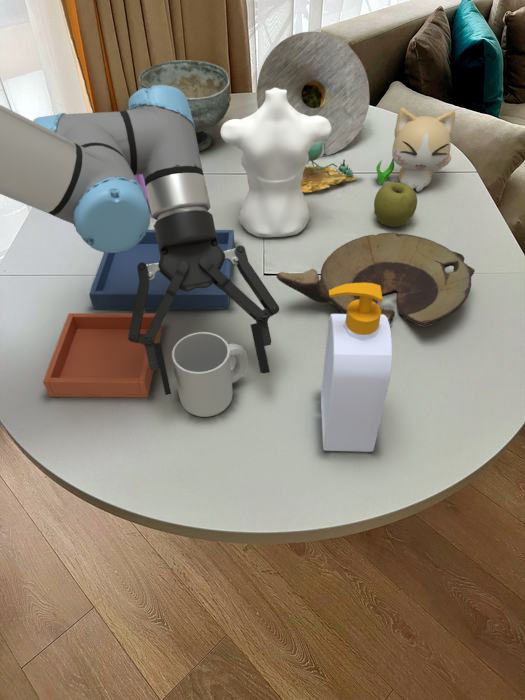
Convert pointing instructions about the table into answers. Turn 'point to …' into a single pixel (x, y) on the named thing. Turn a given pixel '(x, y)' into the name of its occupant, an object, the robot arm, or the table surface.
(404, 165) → the kitten
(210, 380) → the cup
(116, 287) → the blue tray
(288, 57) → the disc
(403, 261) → the pottery shard
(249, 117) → the torso sculpture
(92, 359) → the terracotta tray
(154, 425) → the table surface
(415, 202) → the apple
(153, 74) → the bowl
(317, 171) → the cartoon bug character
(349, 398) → the soap bottle
